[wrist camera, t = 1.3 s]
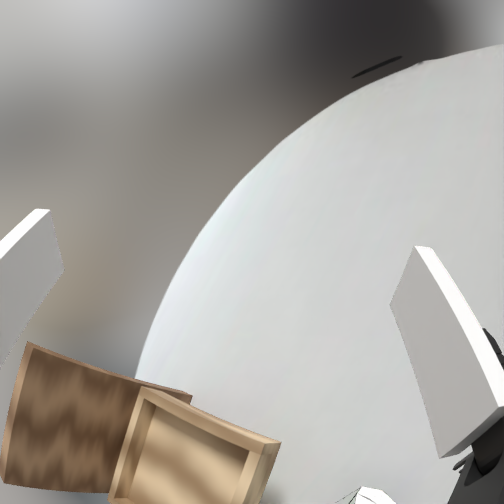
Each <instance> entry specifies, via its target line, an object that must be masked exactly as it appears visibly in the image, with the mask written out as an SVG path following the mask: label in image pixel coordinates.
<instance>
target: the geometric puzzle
mask: <svg viewBox="0 0 504 504" xmlns="http://www.w3.org/2000/svg"><path fill="white" fill-rule="evenodd" d="M352 493H353V492H352ZM356 494H357V495H355V496H356V499H355V503H354V504H396V503H395V502H394V501H393V500H392V499H391V498H390V497H389V496H388V495H387V494H386V493H385V492H384V491H383V490H378V489H372V488H367V487H363V486H361V487H360V489H359V491H358V492H357V493H356ZM355 496H354V497H355ZM354 497H353V498H354ZM344 498H345V497H344ZM352 500H353V499H352ZM352 500H351V501H352ZM351 501H350V502H351ZM337 502H338V501H337ZM350 502H349V504H350Z"/></svg>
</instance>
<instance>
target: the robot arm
mask: <svg viewBox="0 0 504 504" xmlns="http://www.w3.org/2000/svg"><path fill="white" fill-rule="evenodd" d="M64 270H65V269H64V266H63V263H62V258H61V254H60V250H59V247H58V243H57V238H56V234H55V229H54V224H53V220H52V215H51V210H47V209H35V210H34V211H33V212H31V214H29V215H28V216H27V217H26V218H25V219H24V220H23V221H21V222H20V223H19V224H18V225H17V226H16V227H15V228H14V229H13V230H12V231H11V232H10V233H9V234H8V235H7V236H5V238H3V239H2V240H1V241H0V368H1V366H2V365H3V363H4V361H5V360H6V358H7V356H8V355H9V353H10V351H11V350H12V348H13V346H14V345H15V343H16V341H17V339H18V338H19V336H20V335H21V333H22V332H23V330H24V328H25V327H26V325H27V324H28V322H29V321H30V319H31V318H32V316H33V315H34V313H35V311H36V310H37V308H38V307H39V306H40V304H41V303H42V301H43V300H44V298H45V297H46V295H47V294H48V292H49V291H50V290H51V288H52V287H53V285H54V284H55V283H56V281H57V280H58V278H59V277H60V276H61V275H62V273H63V272H64ZM390 307H391V309H392V312H393V314H394V317H395V320H396V322H397V325H398V328H399V330H400V333H401V336H402V338H403V341H404V344H405V347H406V350H407V352H408V355H409V358H410V361H411V364H412V367H413V370H414V373H415V376H416V379H417V382H418V385H419V388H420V392H421V395H422V398H423V401H424V405H425V408H426V411H427V415H428V418H429V422H430V425H431V429H432V433H433V437H434V440H435V444H436V448H437V452H438V456H439V459H440V458H444V457H449V456H453V455H457V454H459V453H461V452H462V451H463V450H465V449H466V448H467V447H468V446H470V445H472V449H473V452H472V453H470V454H469V455H468V456H466V457H465V458H464V459H462V460H461V461H459V462H458V463H457V464H456V465H455V466H454V468H453V470H457V469H458V468H459V467H461V466H462V465H464V464H465V465H464V467H463V469H462V470H460V471H459V473H460V477H459V479H458V481H457V484H456V486H455V488H454V490H453V493H452V495H451V497H450V499H449V501H448V503H447V504H504V356H503V355H502V354H501V353H502V352H501V350H500V348H499V346H498V344H497V342H496V341H495V339H494V338H493V337H492V336H491V335H490V334H489V333H488V332H487V330H486V329H485V328H481V326H480V324H479V322H478V321H477V319H476V317H475V316H474V314H473V312H472V310H471V309H470V307H469V305H468V304H467V302H466V300H465V299H464V297H463V295H462V294H461V292H460V291H459V289H458V287H457V286H456V284H455V283H454V281H453V280H452V278H451V276H450V275H449V273H448V272H447V270H446V269H445V267H444V266H443V264H442V263H441V261H440V260H439V258H438V257H437V255H436V254H435V253H434V251H433V250H432V248H429V247H421V246H414V247H413V250H412V252H411V255H410V257H409V260H408V262H407V265H406V267H405V270H404V272H403V275H402V277H401V279H400V282H399V284H398V286H397V289H396V291H395V293H394V296H393V298H392V300H391V302H390Z"/></svg>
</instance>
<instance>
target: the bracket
mask: <svg viewBox="0 0 504 504" xmlns="http://www.w3.org/2000/svg"><path fill="white" fill-rule="evenodd" d="M191 398H192V395H190V394H188V393H185V392H183V391H180V390H176V389H172V388H168V387H164V386H160V385H156V384H152V383H148V382H144V381H141V380H137V379H134V378H130V377H127V376H123V375H120V374H117V373H113V372H110V371H107V370H104V369H101V368H98V367H94V366H92V365H89V364H86V363H83V362H80V361H77V360H74V359H72V358H69V357H66V356H63V355H61V354H58V353H55V352H53V351H50V350H48V349H45V348H43V347H40V346H38V345H35V344H33V343H31V342H28V341H27V344H26V347H25V351H24V354H23V357H22V360H21V364H20V367H19V371H18V374H17V378H16V382H15V386H14V390H13V394H12V398H11V402H10V407H9V411H8V416H7V421H6V426H5V432H4V437H3V443H2V450H1V456H0V476H1V478H2V480H3V482H4V483H6V484H12V485H17V486H23V487H30V488H38V489H46V490H56V491H68V492H84V493H85V492H86V493H109V495H108V499H107V500H108V501H109V502H110V503H111V504H259V502H260V499H261V497H262V494H263V492H264V489H265V486H266V484H267V481H268V479H269V476H270V473H271V470H272V468H273V465H274V462H275V459H276V457H277V454H278V451H279V448H280V445H281V442H279V441H276V440H274V439H271V438H268V437H265V436H262V435H260V434H257V433H254V432H252V431H249V430H247V429H244V428H242V427H239V426H237V425H234V424H232V423H229V422H227V421H224V420H222V419H220V418H217V417H215V416H213V415H211V414H208V413H206V412H204V411H202V410H199V409H197V408H195V407H193V406H191V405H189V404H190V401H191Z"/></svg>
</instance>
